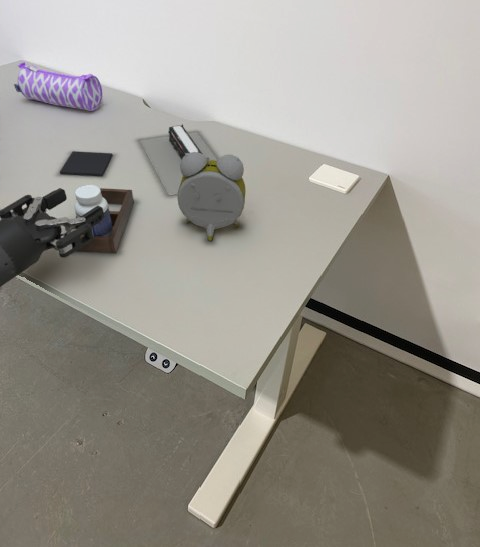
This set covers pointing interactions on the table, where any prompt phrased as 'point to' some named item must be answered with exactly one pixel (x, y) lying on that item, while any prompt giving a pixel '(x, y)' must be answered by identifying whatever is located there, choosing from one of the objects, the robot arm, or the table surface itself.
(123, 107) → the table surface
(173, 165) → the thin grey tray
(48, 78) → the pencil case
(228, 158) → the alarm clock
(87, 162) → the rubber pad
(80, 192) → the pill bottle
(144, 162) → the table surface
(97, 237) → the bottle holder
